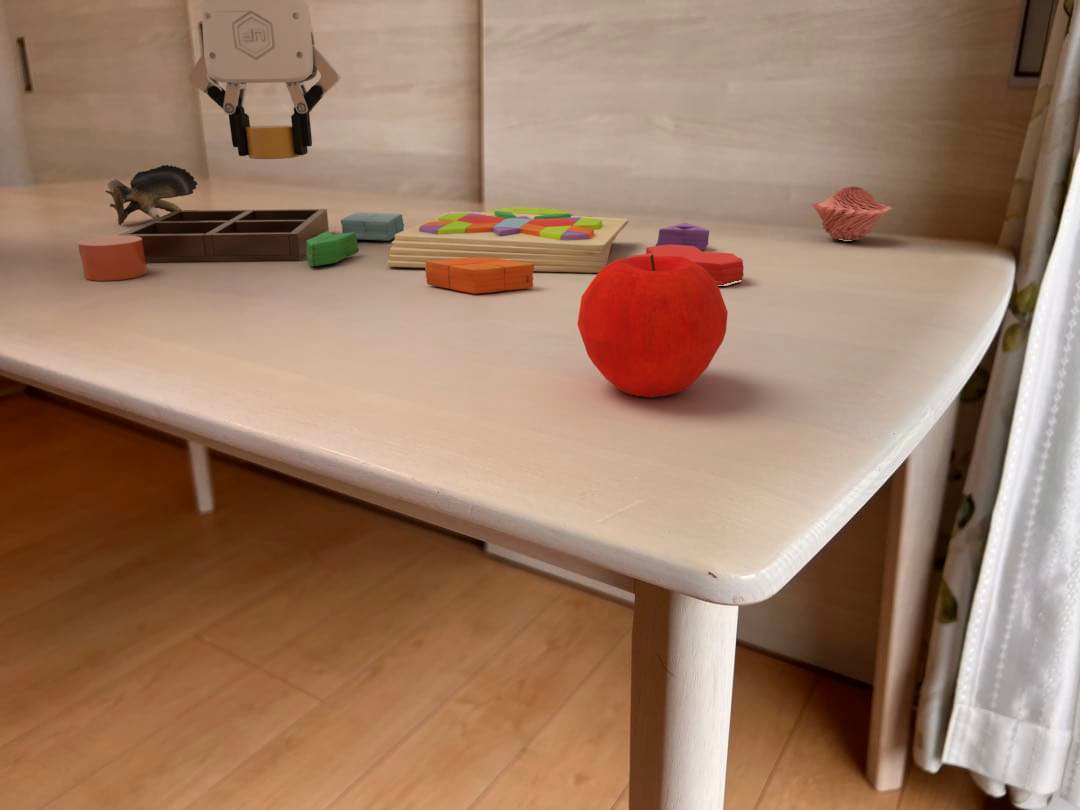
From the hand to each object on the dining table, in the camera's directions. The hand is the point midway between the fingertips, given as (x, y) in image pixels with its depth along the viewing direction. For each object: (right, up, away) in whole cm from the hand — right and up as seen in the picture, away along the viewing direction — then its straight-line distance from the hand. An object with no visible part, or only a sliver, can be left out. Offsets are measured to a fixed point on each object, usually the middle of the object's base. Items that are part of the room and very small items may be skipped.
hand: (273, 152), depth 88 cm
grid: (-4, -10, -1) cm, 11 cm away
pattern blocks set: (+25, -12, -5) cm, 28 cm away
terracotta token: (-9, -15, -14) cm, 22 cm away
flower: (+60, -9, +2) cm, 60 cm away
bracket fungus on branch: (-18, -4, +14) cm, 23 cm away
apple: (+33, -25, -41) cm, 59 cm away
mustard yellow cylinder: (0, 0, 0) cm, 0 cm away
